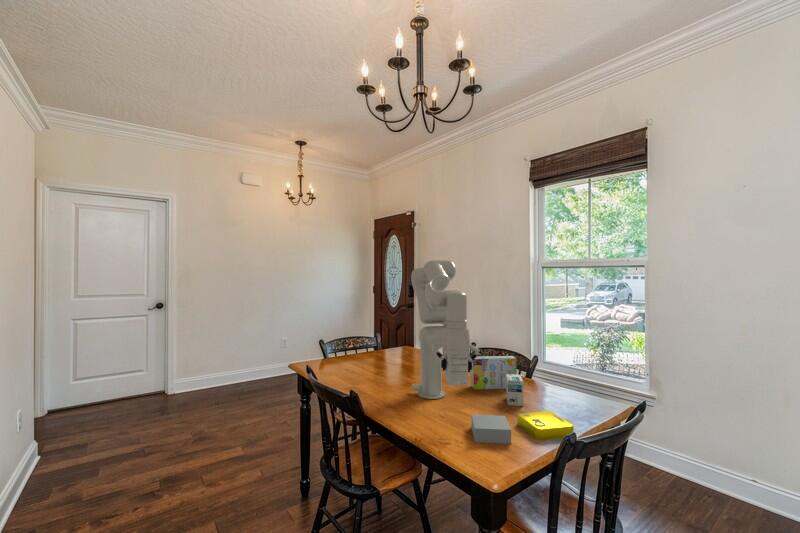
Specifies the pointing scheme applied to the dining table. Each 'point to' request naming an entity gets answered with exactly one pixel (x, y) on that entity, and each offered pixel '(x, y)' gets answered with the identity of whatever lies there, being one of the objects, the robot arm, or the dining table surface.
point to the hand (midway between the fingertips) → (456, 370)
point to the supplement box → (456, 368)
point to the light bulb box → (515, 389)
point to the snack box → (492, 371)
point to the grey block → (491, 429)
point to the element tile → (544, 425)
